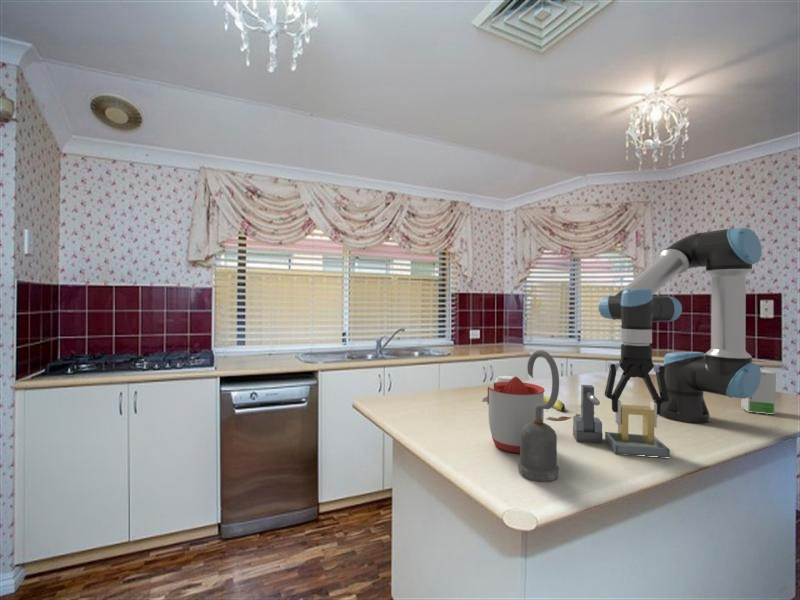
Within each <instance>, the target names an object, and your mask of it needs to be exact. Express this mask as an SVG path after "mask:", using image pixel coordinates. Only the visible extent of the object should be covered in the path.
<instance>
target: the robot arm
mask: <svg viewBox="0 0 800 600" xmlns="http://www.w3.org/2000/svg"><path fill="white" fill-rule="evenodd" d="M762 250H763V249H762V244H761V241H760V239H759V237H758V235H757V234H756V232H755V231H753V230H752V229H751V228H748V227H735V228H734V227H731V228H726V229H719V230H712V231H705V232H698V233H693V234H689V235H688V236H685V237H683V238H681V239H679V240H677V241H676V242H674V243H672V244H671V245H669V246H668V247H667V248H665V249H664V250H663V251H661V253H660V254H659V256H658V259H657V260H656V261H654V262H653V263H652V264H651V265H649V266H648V267H647V268H646V269H645V270H644V271H643V272H641V273H640V274H639V275H637V277H635V278H634V279H633V280H632V281H630V283H628V284H627V285H626V286H625V287H623V288H622V289H621V290H620V291H619V292H617V293H616V294H615V295H606V296H603V297H602V298H600V300H599V302H598V309H597V310H598V312H599V314H600V316H601V317H602V318H604V319H610V320H620V321H621V325H620V342H621V343H622V344H620V360H619V362H608V364H607V365H608V376H607V381H606V385H605V388H604V389H605V390H604V396H605V397H606V398H607V399H610V400H611V410H612V412H613V413H615V416H614V417H615V419H614V420H615V424H616V425H617V426H618V425H621V404H622V401H621V400H620V398H621V395H622V393H623V391H624V390H625V388H626V386H627V384H628V382H629V380H631V378H639V379H643V382H644V384H645V386H646V388H647V390H648V391H649V394H650V396H651V399H652V400H653V401H649V406H650V407H651V408H652V409H654V429H655V428H657V427H658V422H657V421H658V418H657V417H658V416H660V417H663V418H665V417H666V418H665V419H669V418H670V420H672V419H674V421H677V420H679V421H678V422H683V421H685V422H686V423H692V422H704V423H707V422H706V421H708V420H709V419H710V416H711V415H710V412H709V411H710V410H709V409H708V407H707V403H706V401H705V397H704V392H705V393H710V394H716V395H720V396H724V397H725V396H726V397H728V398H731V399H733V398H737V399H745V398H749V397H750V396H752V395H753V394H754V393H755V392H756V390H757V388H758V386H759V384H760V380H761V370H762V369H761V367H760V365H758V364H757V363H755V362H752V361H753V360H752V358H753V357H752V355H751V354H750V353H748V352H747V350H746V333H747V332H746V330H747V329H746V328H747V327H746V321H747V320H746V312H747V311H746V308H747V306H746V305H747V304H746V297H747V296H746V295H747V294H746V292H747V289H746V288H747V287H746V285H747V283H746V280H747V278H746V277H747V274H750V272H751V271H753V265H755V264H758V263H759V262H760V261H761V257H762V256H763V251H762ZM700 267H702V268H703V267H705V273H707V274H708V275H709V276H710V277H711V331H710V333H711V335H710V336H711V339H710V340H711V342H710V343H711V347H710V349H709V350H708V351H706V352H705V354H704V352H703V351H701V352H700V351H680V352H679V351H677V352H674V351H673V352H667V353H666V354H665V355H664V356H663V357H664V358H663V364H654V363H653V346H652V345H651V344H653V323H661V322H662V323H668V322H674V321H676V320H677V319H679V318H680V317H681V315H682V312H683V305H682V303H681V302H680V301H679V300H678V299H677V298H676V297H674V296H669V295H656V293H657V292H659V291H660V290H661V289H662V288H663V287H664V286H665V285H666V284H667V283H668V282H670V281H671V280H672V279H673V278H674V277H676V275H680V274H682V273H684V272H687V270H688V269H694V268H700ZM654 294H655V295H654ZM619 368H620V369H621V370H622V374H621V377H620V378H619V381H618V383H617V385H616V386H615V382H616V375H617V371H618V370H619ZM652 370H653V371H654V372H655V376H656V378H655V379H656V382H657V388H658V391H657V390H656V388H655V385H654V383H653V381H652V378H651V376H650V374H649V373H650V372H651V371H652ZM614 386H615V388H614ZM658 393H659V394H658ZM709 421H710V420H709ZM709 421H708V422H709ZM685 422H684V423H685Z"/></svg>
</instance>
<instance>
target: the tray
mask: <svg viewBox="0 0 800 600" xmlns="http://www.w3.org/2000/svg"><path fill="white" fill-rule="evenodd" d="M604 441H605V443H607V445H608V446H609V448H610V447H611V448H610V449H611V450H612V451H614V452H613V453H614V455H618V454H626V455H625V456H630V455H645V456H658V457H671V456H670V454H671V451H670V449H671V448H669V447H668V446H666V444H664V443H663V442H662V441H661V440H660V439H659V438H657V436H655V435H654V445H648V444H647V443H646V442H645V441H644V440H643V434H640V433H639V434H638V433H628V443H623V442H621V441H620V440H619V438H618V432H613V431H604ZM627 454H628V455H627Z"/></svg>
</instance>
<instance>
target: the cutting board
mask: <svg viewBox="0 0 800 600" xmlns="http://www.w3.org/2000/svg"><path fill="white" fill-rule="evenodd" d="M549 399H550V396H549V395H548V396H547V395H544V403H547V402H548V401H549ZM552 408H553V409H555V410H556V411H558V412H562V411H564V410H565V403H563V401H562V400H560V399H558V398H557V400H556V402H555V404H554V406H553V407H552ZM552 408H551V409H552ZM545 412H548V409H545ZM574 416H580V417H581V413H576V414H574ZM545 419H546V420H548V421H549V420H550V421H564V420H568V419H573V416H572V417H571V416H566V415H565V416H559V417H554V416H553V417H552V416H548V417H546V418H545Z"/></svg>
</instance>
